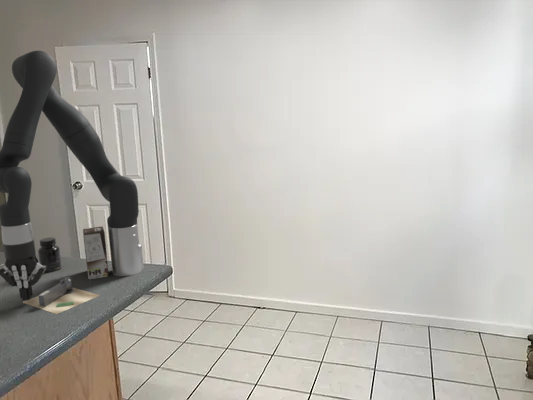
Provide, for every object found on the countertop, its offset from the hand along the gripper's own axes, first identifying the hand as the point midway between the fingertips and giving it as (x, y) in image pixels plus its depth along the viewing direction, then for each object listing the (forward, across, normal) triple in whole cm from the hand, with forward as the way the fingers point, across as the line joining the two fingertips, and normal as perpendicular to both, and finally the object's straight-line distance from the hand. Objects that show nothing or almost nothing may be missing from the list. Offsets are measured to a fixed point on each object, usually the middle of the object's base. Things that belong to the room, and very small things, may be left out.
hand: (26, 299), depth 132 cm
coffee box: (+3, -12, -23) cm, 26 cm away
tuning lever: (+1, -7, -3) cm, 8 cm away
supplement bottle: (+3, +5, -29) cm, 30 cm away
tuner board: (+3, -8, -3) cm, 9 cm away
